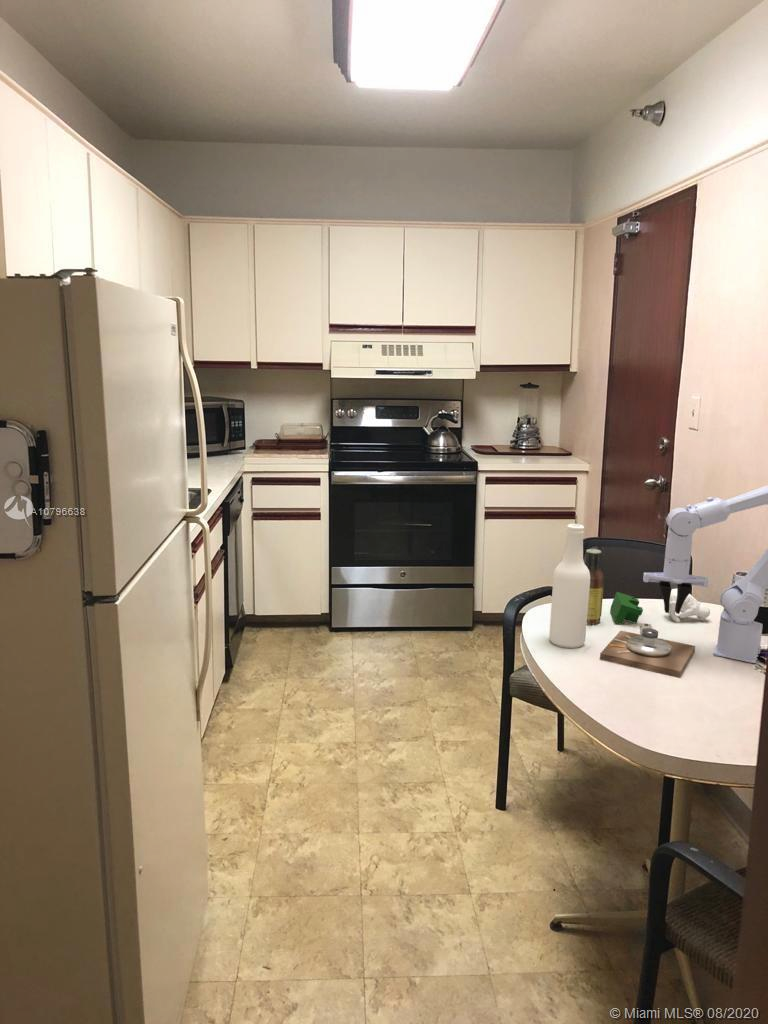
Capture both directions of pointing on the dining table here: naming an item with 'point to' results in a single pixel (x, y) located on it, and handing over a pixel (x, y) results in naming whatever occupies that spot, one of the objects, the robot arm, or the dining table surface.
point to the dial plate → (662, 664)
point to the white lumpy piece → (688, 607)
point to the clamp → (625, 608)
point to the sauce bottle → (594, 586)
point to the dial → (648, 643)
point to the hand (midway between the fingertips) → (671, 612)
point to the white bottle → (570, 593)
